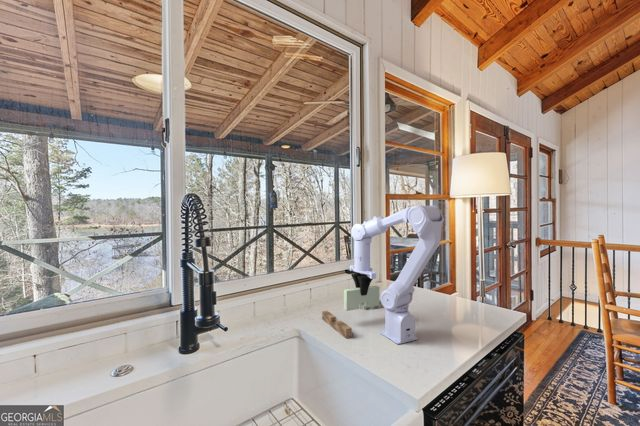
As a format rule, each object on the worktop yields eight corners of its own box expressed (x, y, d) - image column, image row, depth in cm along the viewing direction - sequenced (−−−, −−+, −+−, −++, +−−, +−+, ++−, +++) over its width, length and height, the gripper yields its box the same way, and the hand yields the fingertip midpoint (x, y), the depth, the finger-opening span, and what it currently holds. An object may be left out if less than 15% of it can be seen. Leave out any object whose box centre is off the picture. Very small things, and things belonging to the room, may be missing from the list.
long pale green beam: (376, 303, 111) (376, 285, 111) (379, 305, 109) (379, 286, 109) (343, 309, 105) (343, 289, 105) (346, 310, 103) (346, 291, 103)
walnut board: (351, 337, 95) (351, 328, 95) (346, 338, 94) (346, 329, 94) (326, 318, 111) (326, 310, 111) (322, 319, 110) (322, 311, 110)
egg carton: (377, 303, 129) (377, 294, 129) (384, 309, 122) (384, 299, 122) (354, 305, 127) (354, 295, 127) (360, 311, 120) (360, 301, 120)
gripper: (383, 259, 102) (383, 298, 102) (360, 253, 115) (360, 287, 115) (366, 261, 99) (366, 301, 99) (345, 254, 112) (344, 289, 112)
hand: (361, 294), depth 107 cm, fingers closed on long pale green beam, 2 cm apart
